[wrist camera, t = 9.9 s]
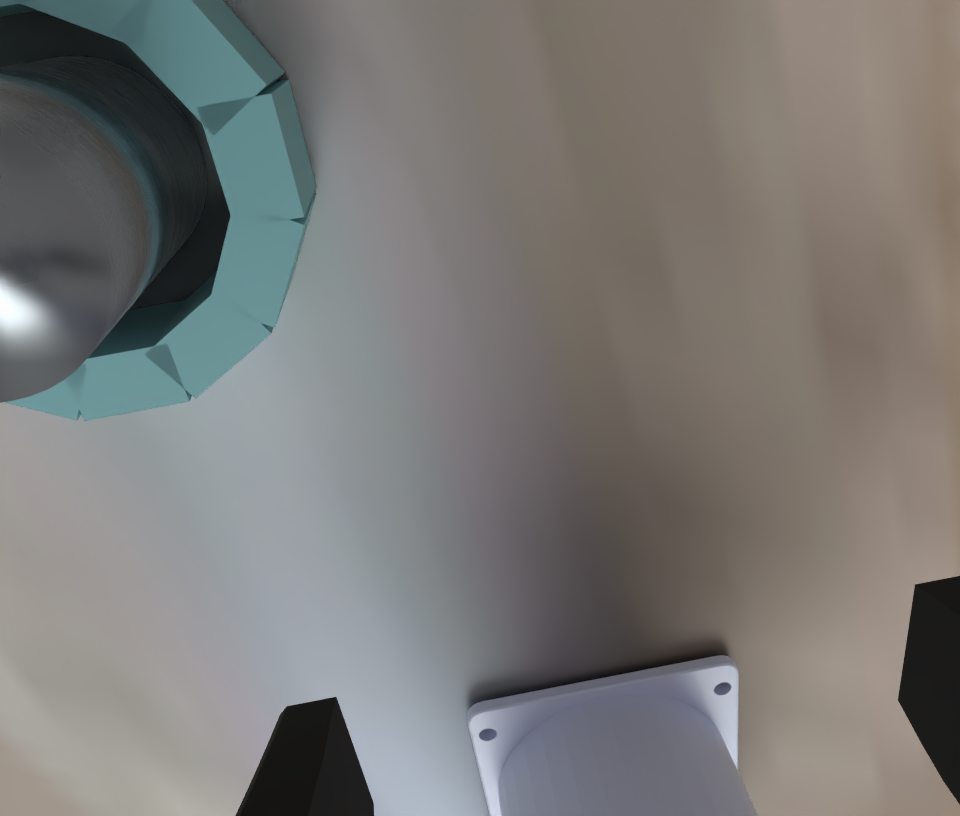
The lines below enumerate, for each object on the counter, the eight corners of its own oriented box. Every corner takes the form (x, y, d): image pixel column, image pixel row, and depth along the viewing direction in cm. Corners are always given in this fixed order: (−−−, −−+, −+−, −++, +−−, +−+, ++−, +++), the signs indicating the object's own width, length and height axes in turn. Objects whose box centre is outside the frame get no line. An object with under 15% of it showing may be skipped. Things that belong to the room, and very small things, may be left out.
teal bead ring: (351, 323, 17) (345, 372, 15) (-14, 391, 17) (-74, 450, 15) (241, -110, 13) (211, -133, 11) (-231, -28, 13) (-358, -33, 11)
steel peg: (233, 250, 16) (155, 373, 11) (39, 285, 16) (-134, 427, 11) (165, 38, 14) (31, 61, 9) (-54, 77, 14) (-322, 124, 9)
